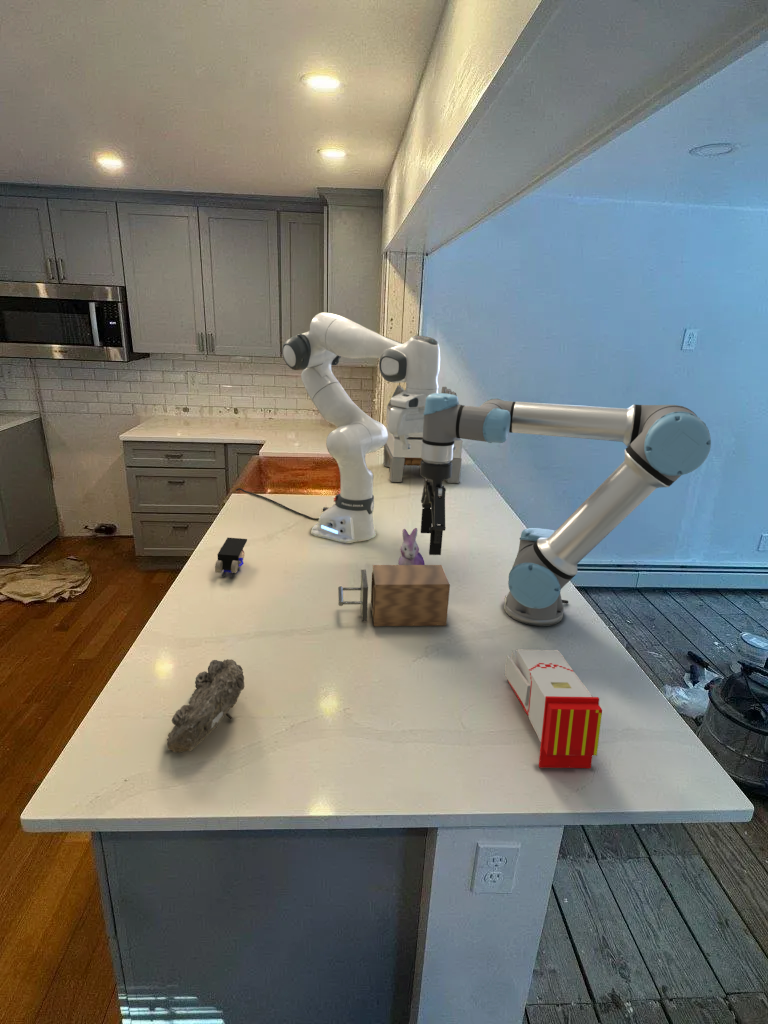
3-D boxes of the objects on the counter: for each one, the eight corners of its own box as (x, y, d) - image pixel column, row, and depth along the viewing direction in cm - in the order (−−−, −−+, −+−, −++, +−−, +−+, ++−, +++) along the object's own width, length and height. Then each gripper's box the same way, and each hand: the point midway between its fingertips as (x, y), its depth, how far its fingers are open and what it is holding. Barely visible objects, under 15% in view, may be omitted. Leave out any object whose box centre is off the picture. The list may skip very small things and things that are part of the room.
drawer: (338, 621, 141) (338, 587, 137) (337, 602, 150) (338, 569, 147) (429, 620, 143) (431, 587, 140) (423, 601, 152) (425, 569, 149)
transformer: (382, 463, 289) (386, 382, 275) (445, 464, 293) (451, 384, 279) (390, 482, 257) (394, 392, 243) (460, 483, 261) (468, 394, 247)
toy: (554, 631, 124) (612, 705, 95) (548, 687, 127) (603, 776, 98) (499, 630, 124) (540, 704, 94) (495, 686, 126) (533, 775, 97)
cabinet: (374, 626, 141) (375, 584, 137) (371, 604, 152) (372, 564, 148) (446, 625, 143) (450, 584, 139) (438, 603, 154) (441, 564, 150)
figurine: (405, 586, 162) (408, 538, 157) (388, 572, 170) (390, 525, 165) (433, 580, 166) (436, 533, 161) (415, 566, 174) (418, 521, 169)
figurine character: (238, 584, 162) (249, 557, 175) (236, 562, 158) (247, 536, 172) (215, 584, 161) (227, 556, 175) (212, 561, 158) (225, 535, 171)
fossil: (192, 660, 117) (244, 628, 112) (224, 691, 120) (276, 661, 115) (142, 746, 98) (202, 712, 93) (182, 779, 101) (242, 748, 96)
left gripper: (440, 394, 164) (437, 441, 168) (385, 399, 151) (384, 449, 156) (456, 397, 159) (452, 445, 164) (401, 402, 147) (399, 454, 151)
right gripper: (463, 475, 123) (455, 564, 130) (442, 448, 146) (436, 524, 153) (429, 474, 122) (422, 564, 129) (413, 447, 145) (408, 524, 152)
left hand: (418, 447), depth 160 cm, fingers open, 8 cm apart
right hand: (430, 543), depth 141 cm, fingers open, 13 cm apart
